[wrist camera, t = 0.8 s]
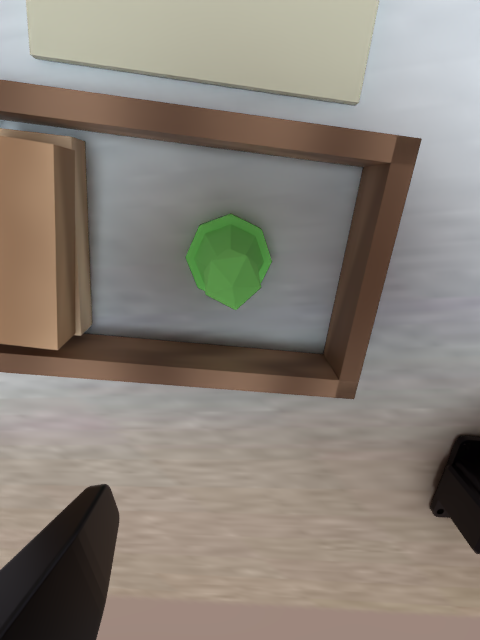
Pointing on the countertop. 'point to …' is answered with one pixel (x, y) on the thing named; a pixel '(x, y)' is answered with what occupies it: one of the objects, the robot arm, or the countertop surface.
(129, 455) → the countertop surface
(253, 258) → the game piece
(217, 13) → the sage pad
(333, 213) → the countertop surface
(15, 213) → the offcut top
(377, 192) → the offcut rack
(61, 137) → the block
